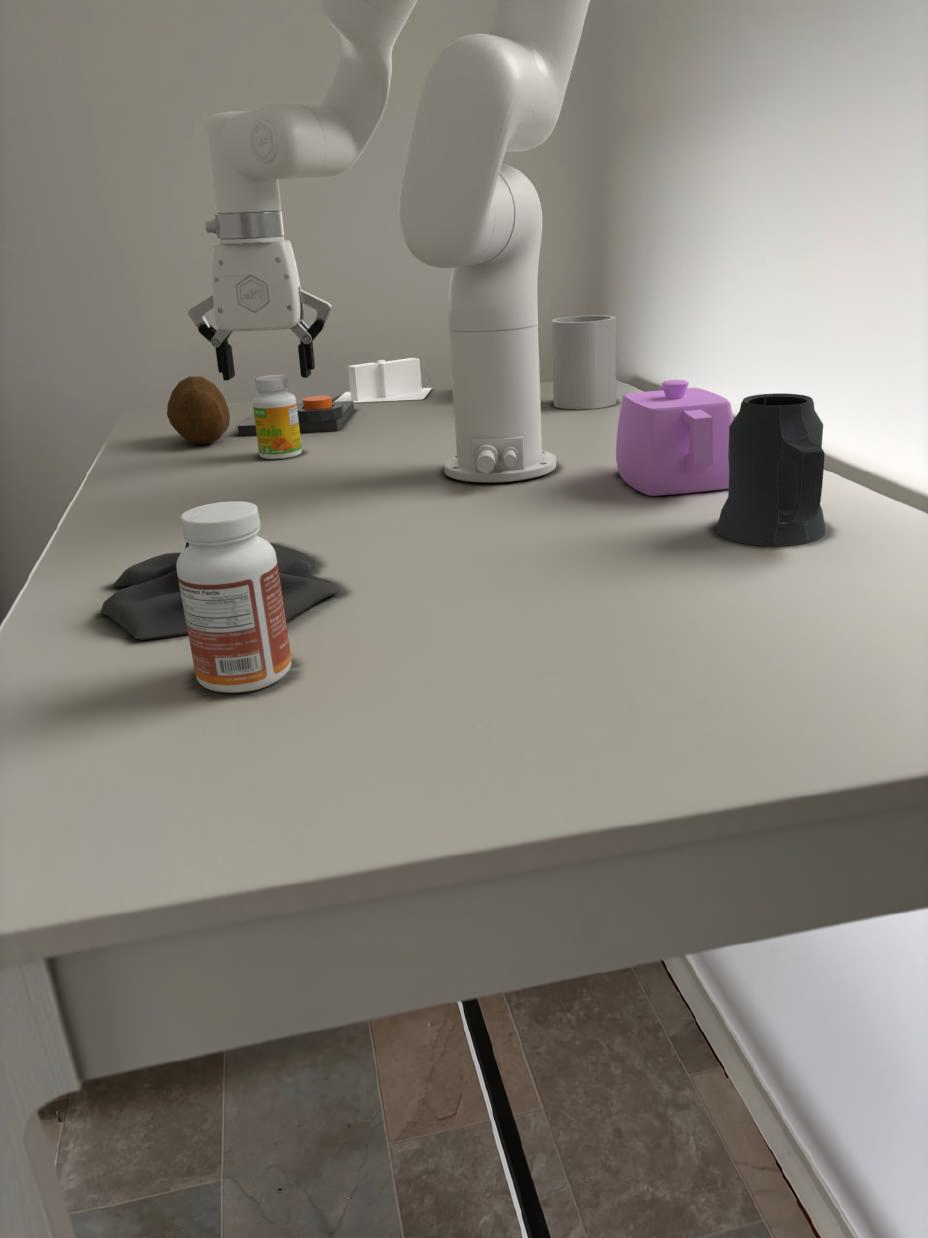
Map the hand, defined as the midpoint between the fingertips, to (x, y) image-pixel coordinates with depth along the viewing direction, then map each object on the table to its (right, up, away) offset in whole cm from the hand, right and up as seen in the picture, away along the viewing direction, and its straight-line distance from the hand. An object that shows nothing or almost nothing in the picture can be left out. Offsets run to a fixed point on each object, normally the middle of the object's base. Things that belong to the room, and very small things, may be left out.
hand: (267, 377), depth 126 cm
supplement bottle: (+1, -9, +3) cm, 10 cm away
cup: (+42, +2, +24) cm, 49 cm away
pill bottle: (+10, -34, -59) cm, 69 cm away
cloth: (+5, -28, -43) cm, 52 cm away
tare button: (+4, 0, +18) cm, 18 cm away
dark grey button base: (0, -1, +24) cm, 24 cm away
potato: (-12, -5, +15) cm, 20 cm away
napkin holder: (+11, +7, +42) cm, 44 cm away
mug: (+51, -23, -39) cm, 68 cm away
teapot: (+46, -16, -20) cm, 52 cm away
